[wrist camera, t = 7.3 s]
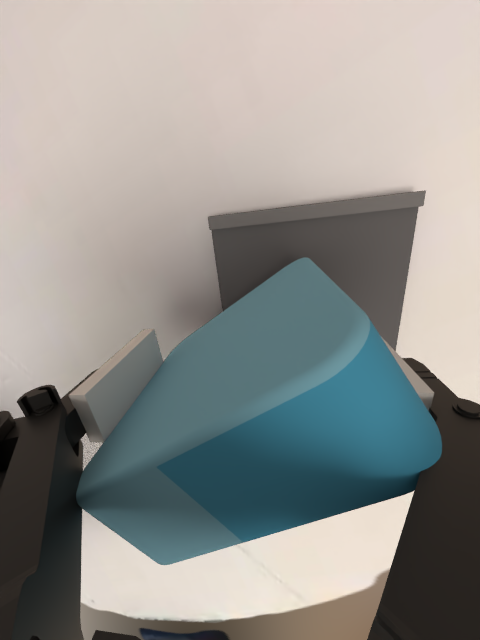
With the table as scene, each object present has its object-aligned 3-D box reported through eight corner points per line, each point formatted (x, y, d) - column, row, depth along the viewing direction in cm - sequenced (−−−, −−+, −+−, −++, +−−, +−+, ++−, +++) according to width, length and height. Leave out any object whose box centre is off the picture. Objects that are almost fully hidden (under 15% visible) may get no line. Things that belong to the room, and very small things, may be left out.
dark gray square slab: (233, 370, 27) (231, 380, 25) (212, 216, 21) (207, 216, 19) (386, 366, 25) (394, 377, 23) (411, 193, 19) (425, 190, 17)
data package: (211, 383, 20) (142, 575, 9) (175, 345, 19) (49, 512, 8) (340, 305, 16) (481, 478, 5) (304, 252, 15) (391, 333, 4)
